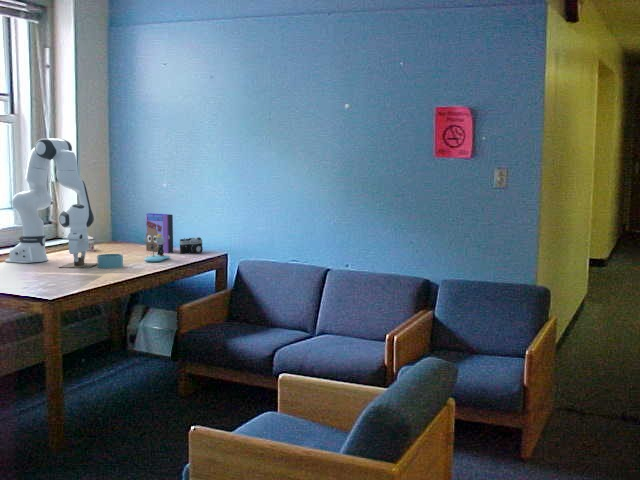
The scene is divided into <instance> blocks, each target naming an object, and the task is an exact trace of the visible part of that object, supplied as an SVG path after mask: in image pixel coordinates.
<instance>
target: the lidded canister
mask: <svg viewBox="0 0 640 480" xmlns="http://www.w3.org/2000/svg"><path fill="white" fill-rule="evenodd" d="M88 240H89V250H86V253H91V252H95V238H94V237H93V236H90V235H88Z"/></svg>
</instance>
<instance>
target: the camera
mask: <svg viewBox="0 0 640 480" xmlns="http://www.w3.org/2000/svg"><path fill="white" fill-rule="evenodd" d="M201 253H203V239H202V238H201V237H200V236H197V237H196V238H195V237H189V238H185V237H184V238H180V239H179V254H180V255H186V254H201Z"/></svg>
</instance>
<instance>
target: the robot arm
mask: <svg viewBox="0 0 640 480" xmlns="http://www.w3.org/2000/svg"><path fill="white" fill-rule="evenodd" d="M51 160H52V161H54V162H55V167H56V178H57V181H58V183H59V184H60V185H62V187H64V188H67V189H69V190H72V191H73V192H75V193H76V194H77V197H78V201H79V204H76V203H75V204H71V205H70V207H69V208H68V209H65V210H62V211H61V212H60V214H59V218H58V220H59V224H60V225H61V227H63V228H65V229H68V228H69V232H68V233H69V234H68V235H67V241H68V252H69V254H70V255H73V259H74V258H75V262H78V261H79V258H78V257H79V254H81V255H80V257H84V260H85V259H86V253H87V252H86V250H89V240H88V236H89V233H88V228H90V227H91V225H93V223H94V221H95V216H94V213H93V210H92V208H91V202H90V199H89V195H88V190H87V186H86V184H85V182H84V180H83V179H81V177H80V174H79V171H78V170H79V169H78V167H79V165H78V161H77V157H76V155H75V152H73V146H72V143H71V142H70V141H69V140H66V139H65V138H64V139H63V138H56V137H51V138H40V139H38V140H37V141H36V142H35V145H34V147H33V148H32V149H31V151H30V154H29V156H28V161H27V165H26V166H27V167H26V171H25V181H26V182H27V183H28V187H29V188H28V189H29V190H28V191H21V192H17V193H16V194H15V195H14V196H13V197H12V201H11V202H12V206H13V208H14V209H15V210H16V211H17V212H18V213H19V214H18V215H19V216H20V219H21V224H22V236H20V237H18V241H19V242H18V243H17V244H16V245H14V247H12V249H10V251H9V254H8V255H9V256H8V258H5V260H4V262H5V263H21V264H22V263H23V264H28V263H39V262H47V261H49V258H48V255H47V252H46V236H45V226H44V221H43V218H41V217H40V215H39V211H42V210H45V209H47V208H49V207H50V206H51V205H52V197H51V194H50V193H49V191H48V188H47V187H48V184H47V183H48V182H47V181H48V180H47V179H48V175H49V167H50V162H51Z"/></svg>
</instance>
